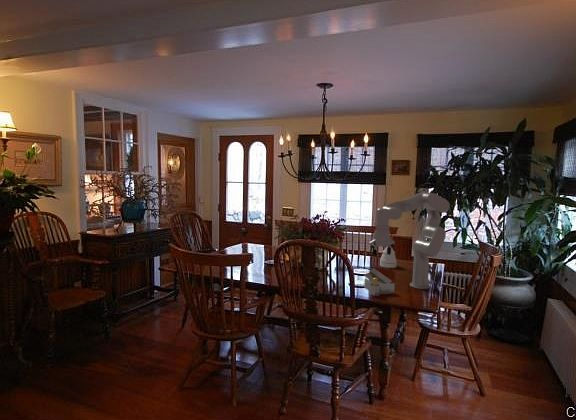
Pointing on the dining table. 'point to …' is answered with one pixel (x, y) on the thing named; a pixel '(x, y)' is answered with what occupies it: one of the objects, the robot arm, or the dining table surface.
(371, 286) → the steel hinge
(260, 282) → the dining table surface
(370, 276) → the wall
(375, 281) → the brass pin
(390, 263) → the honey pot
